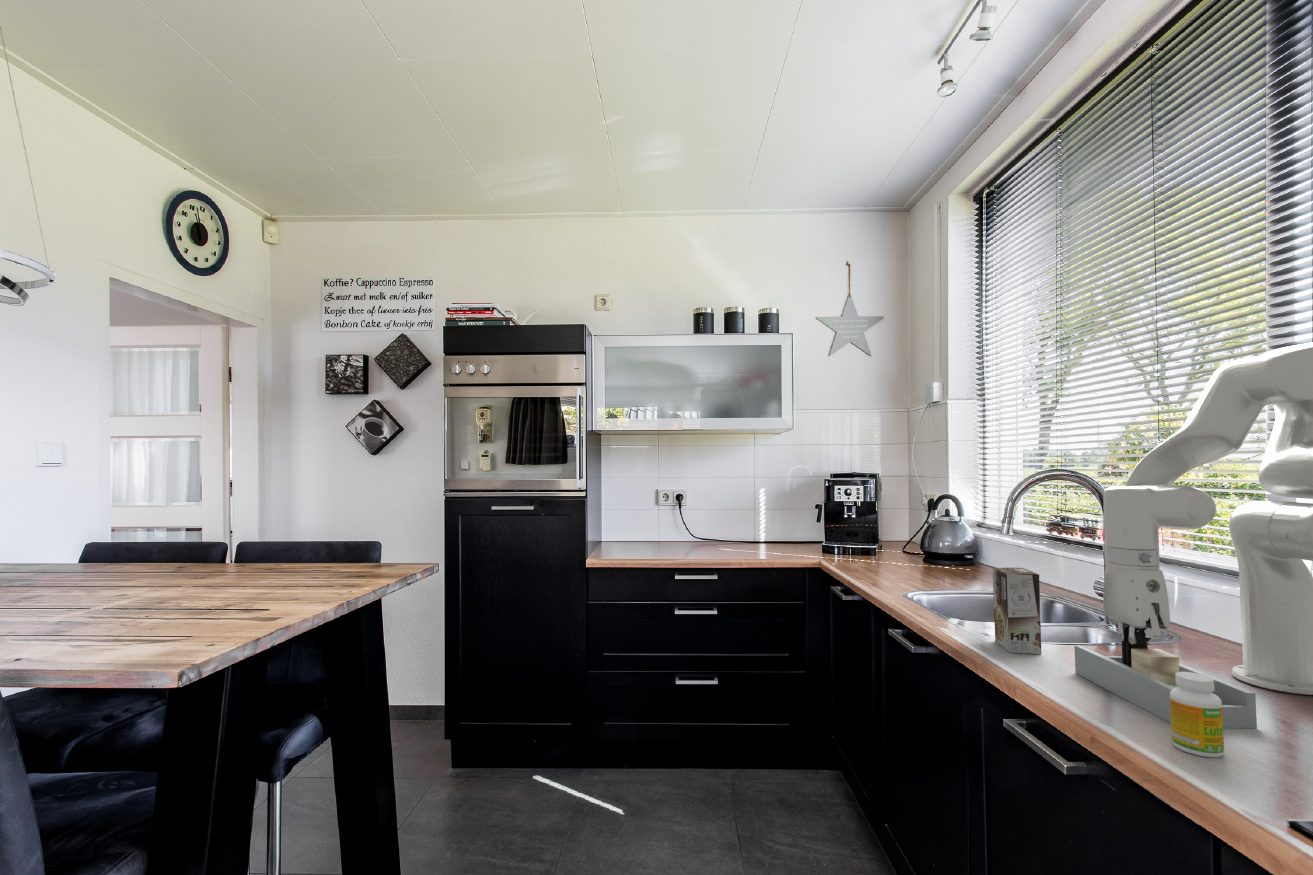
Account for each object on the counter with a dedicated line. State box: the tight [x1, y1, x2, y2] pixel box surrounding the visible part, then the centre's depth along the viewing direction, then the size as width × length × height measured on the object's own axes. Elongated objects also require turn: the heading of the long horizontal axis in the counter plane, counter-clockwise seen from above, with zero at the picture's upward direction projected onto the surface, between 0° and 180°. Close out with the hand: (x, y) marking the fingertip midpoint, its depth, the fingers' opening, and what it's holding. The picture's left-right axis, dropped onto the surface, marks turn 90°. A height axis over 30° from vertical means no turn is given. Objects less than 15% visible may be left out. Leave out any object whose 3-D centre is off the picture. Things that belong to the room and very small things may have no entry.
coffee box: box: [992, 567, 1042, 655], centre depth 132 cm, size 9×6×16 cm
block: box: [1131, 648, 1180, 685], centre depth 103 cm, size 4×4×4 cm
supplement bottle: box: [1170, 672, 1225, 759], centre depth 85 cm, size 5×5×10 cm
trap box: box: [1074, 644, 1258, 729], centre depth 103 cm, size 11×24×5 cm, turn 178°
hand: (1135, 665), depth 108 cm, fingers closed
